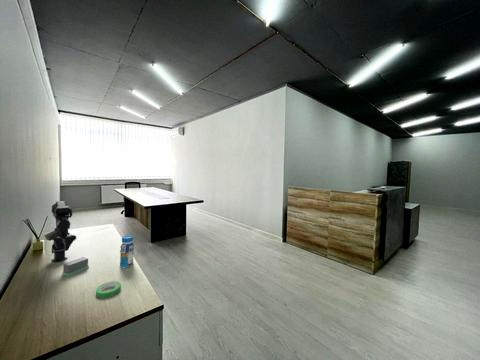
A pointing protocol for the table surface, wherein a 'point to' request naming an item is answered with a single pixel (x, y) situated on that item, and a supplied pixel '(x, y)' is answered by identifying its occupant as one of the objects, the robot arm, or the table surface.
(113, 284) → the tape roll
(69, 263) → the block
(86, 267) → the green peg board
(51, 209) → the robot arm
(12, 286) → the table surface
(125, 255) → the beverage bottle
